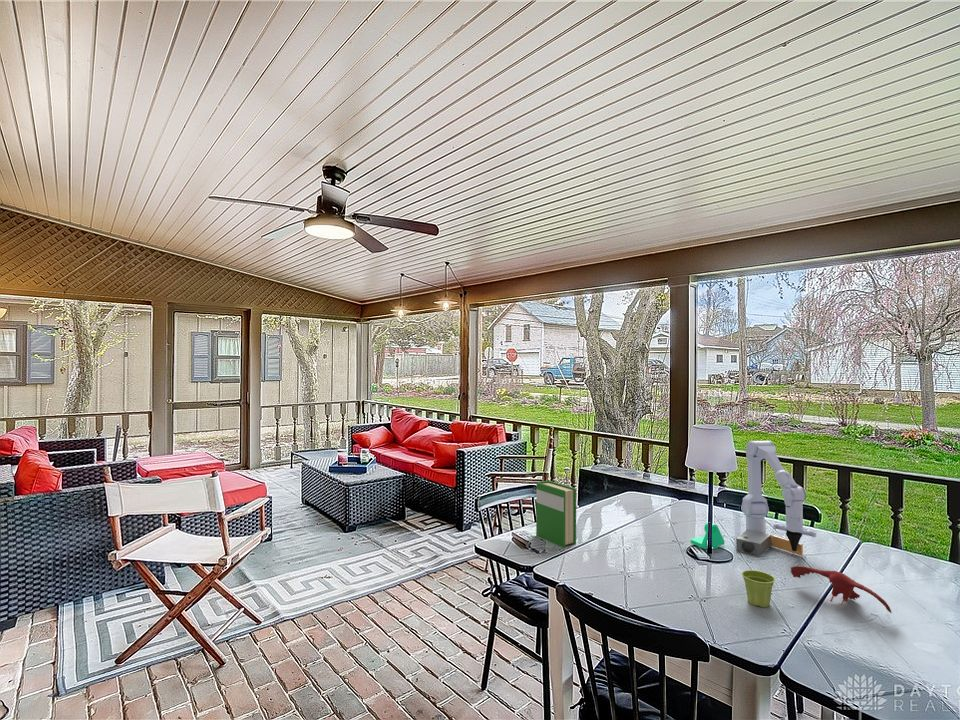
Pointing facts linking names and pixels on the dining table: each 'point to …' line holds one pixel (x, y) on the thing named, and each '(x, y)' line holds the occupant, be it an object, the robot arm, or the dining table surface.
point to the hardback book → (556, 513)
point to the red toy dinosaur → (838, 583)
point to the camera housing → (753, 542)
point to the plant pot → (758, 587)
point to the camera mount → (702, 541)
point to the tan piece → (785, 545)
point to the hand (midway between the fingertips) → (794, 550)
